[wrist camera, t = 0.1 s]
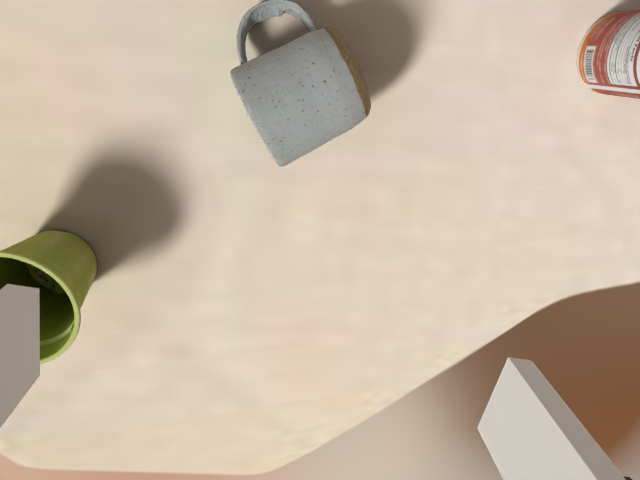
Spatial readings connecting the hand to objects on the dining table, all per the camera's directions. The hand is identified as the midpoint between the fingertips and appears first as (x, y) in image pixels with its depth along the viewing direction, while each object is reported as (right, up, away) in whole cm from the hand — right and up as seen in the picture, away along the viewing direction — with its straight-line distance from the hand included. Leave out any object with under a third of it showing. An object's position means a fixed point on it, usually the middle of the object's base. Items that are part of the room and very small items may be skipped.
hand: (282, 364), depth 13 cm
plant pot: (-22, +2, +28) cm, 36 cm away
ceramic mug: (-1, +16, +24) cm, 29 cm away
